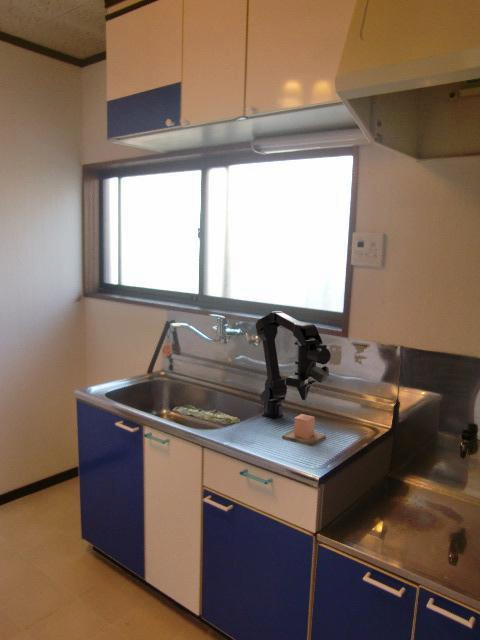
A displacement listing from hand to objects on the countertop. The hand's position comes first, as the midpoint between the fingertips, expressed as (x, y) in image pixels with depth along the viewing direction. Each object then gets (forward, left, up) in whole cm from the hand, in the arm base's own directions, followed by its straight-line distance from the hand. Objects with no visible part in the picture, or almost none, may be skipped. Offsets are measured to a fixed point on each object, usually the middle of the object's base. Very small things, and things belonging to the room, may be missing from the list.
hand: (303, 400), depth 185 cm
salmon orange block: (+4, -7, -11) cm, 13 cm away
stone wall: (-39, -8, -12) cm, 42 cm away
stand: (+4, -7, -12) cm, 14 cm away
